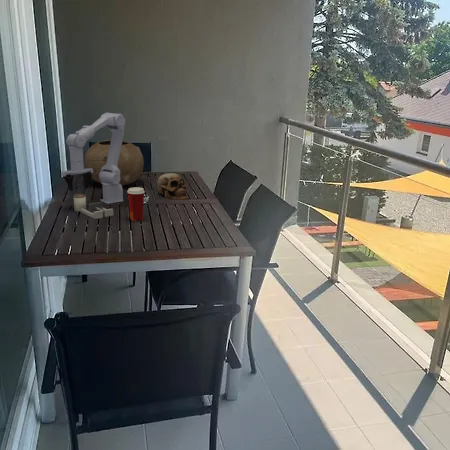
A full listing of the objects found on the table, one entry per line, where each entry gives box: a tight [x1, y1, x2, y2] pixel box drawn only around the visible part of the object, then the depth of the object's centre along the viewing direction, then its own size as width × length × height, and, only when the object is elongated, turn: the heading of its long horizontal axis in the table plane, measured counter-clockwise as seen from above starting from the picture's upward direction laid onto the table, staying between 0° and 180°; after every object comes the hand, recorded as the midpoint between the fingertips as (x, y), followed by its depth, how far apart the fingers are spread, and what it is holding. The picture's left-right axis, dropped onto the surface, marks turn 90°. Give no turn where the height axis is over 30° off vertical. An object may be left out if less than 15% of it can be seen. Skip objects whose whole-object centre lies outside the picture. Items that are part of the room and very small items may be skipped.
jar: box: [73, 193, 87, 212], centre depth 213 cm, size 6×6×7 cm
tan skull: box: [156, 172, 189, 201], centre depth 245 cm, size 16×17×13 cm
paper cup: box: [126, 187, 146, 222], centre depth 202 cm, size 8×8×14 cm
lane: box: [79, 207, 114, 220], centre depth 209 cm, size 9×14×3 cm
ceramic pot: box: [84, 139, 145, 187], centre depth 263 cm, size 33×34×25 cm
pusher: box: [88, 201, 104, 213], centre depth 207 cm, size 6×7×5 cm
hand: (78, 189), depth 211 cm, fingers open, 7 cm apart
